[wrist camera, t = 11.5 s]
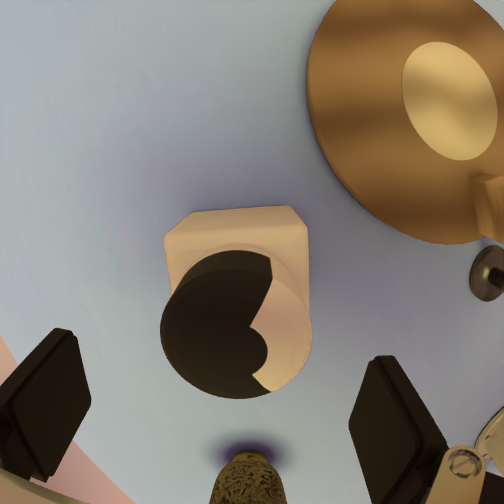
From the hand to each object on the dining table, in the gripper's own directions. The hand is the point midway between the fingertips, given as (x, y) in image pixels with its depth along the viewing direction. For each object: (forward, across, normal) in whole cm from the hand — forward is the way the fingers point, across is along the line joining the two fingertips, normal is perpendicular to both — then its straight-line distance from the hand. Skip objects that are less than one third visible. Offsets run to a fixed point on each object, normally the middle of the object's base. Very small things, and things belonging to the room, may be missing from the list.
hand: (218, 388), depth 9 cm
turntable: (+13, -14, -13) cm, 23 cm away
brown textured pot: (+14, -3, +22) cm, 27 cm away
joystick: (+14, -22, -1) cm, 26 cm away
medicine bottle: (+15, -1, 0) cm, 15 cm away
